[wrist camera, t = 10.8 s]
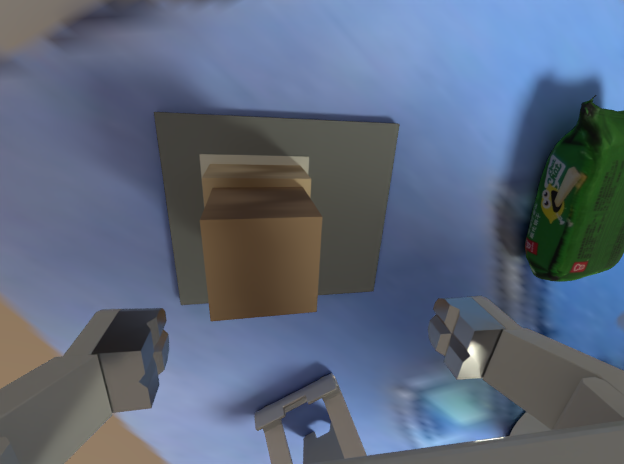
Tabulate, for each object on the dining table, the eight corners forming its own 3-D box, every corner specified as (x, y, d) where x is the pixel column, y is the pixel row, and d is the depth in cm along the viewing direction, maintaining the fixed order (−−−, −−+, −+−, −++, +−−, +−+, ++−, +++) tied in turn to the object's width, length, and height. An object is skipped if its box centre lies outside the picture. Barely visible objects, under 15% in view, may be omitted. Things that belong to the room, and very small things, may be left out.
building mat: (395, 123, 22) (400, 124, 21) (370, 287, 27) (373, 291, 27) (156, 111, 19) (153, 112, 18) (182, 300, 24) (180, 305, 23)
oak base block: (300, 165, 21) (311, 178, 17) (297, 243, 23) (306, 269, 20) (209, 163, 20) (201, 178, 16) (216, 246, 22) (210, 274, 18)
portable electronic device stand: (329, 368, 30) (357, 456, 23) (357, 410, 34) (388, 498, 26) (254, 407, 30) (256, 508, 23) (289, 445, 34) (301, 543, 26)
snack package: (620, 96, 25) (706, 94, 20) (566, 262, 31) (623, 290, 26) (545, 101, 24) (618, 101, 19) (505, 272, 30) (553, 303, 25)
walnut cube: (302, 186, 17) (322, 216, 13) (300, 262, 19) (316, 311, 15) (212, 187, 16) (199, 220, 12) (219, 267, 18) (210, 321, 14)
